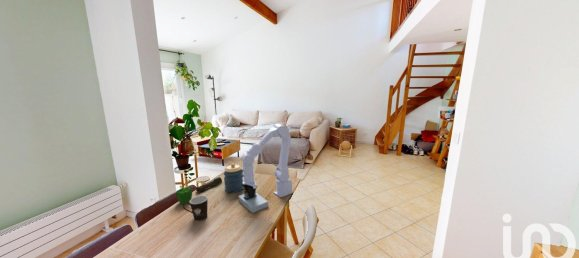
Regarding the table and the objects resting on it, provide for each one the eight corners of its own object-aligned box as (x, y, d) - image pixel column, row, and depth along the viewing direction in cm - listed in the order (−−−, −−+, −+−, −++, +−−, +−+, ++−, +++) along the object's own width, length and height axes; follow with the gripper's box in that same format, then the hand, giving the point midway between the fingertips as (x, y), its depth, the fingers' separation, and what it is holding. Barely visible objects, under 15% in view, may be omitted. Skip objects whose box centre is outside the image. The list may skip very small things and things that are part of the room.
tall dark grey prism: (253, 198, 128) (253, 188, 127) (256, 200, 125) (255, 189, 124) (244, 202, 124) (243, 191, 123) (247, 204, 122) (246, 193, 121)
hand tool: (199, 193, 137) (198, 187, 136) (195, 192, 139) (195, 185, 138) (224, 183, 151) (223, 177, 150) (221, 182, 154) (220, 176, 153)
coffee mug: (213, 213, 113) (211, 196, 112) (201, 223, 105) (199, 205, 104) (195, 210, 117) (193, 193, 115) (183, 219, 109) (180, 201, 107)
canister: (248, 186, 144) (247, 162, 141) (234, 194, 134) (232, 168, 130) (235, 182, 151) (233, 159, 148) (220, 190, 140) (218, 164, 137)
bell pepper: (195, 201, 127) (193, 186, 125) (180, 207, 121) (178, 191, 119) (190, 197, 133) (188, 182, 131) (175, 202, 127) (173, 186, 125)
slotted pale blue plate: (253, 195, 132) (253, 190, 132) (268, 206, 119) (268, 201, 118) (238, 200, 126) (238, 196, 126) (252, 213, 113) (252, 207, 112)
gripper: (236, 172, 125) (238, 193, 127) (248, 179, 114) (249, 202, 116) (247, 169, 129) (249, 189, 132) (259, 176, 118) (261, 198, 120)
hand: (250, 195), depth 124 cm, fingers open, 4 cm apart
